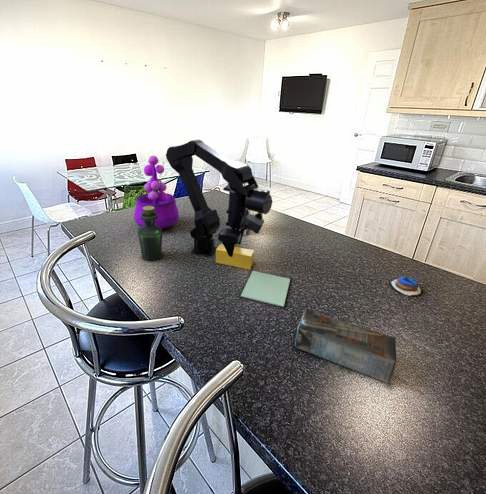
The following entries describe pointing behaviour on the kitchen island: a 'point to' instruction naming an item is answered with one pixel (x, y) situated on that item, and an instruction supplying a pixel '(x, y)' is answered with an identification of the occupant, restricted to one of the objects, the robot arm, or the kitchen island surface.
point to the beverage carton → (347, 345)
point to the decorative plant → (156, 198)
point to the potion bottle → (150, 235)
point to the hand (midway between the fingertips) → (234, 250)
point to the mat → (266, 288)
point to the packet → (235, 257)
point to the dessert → (406, 285)
